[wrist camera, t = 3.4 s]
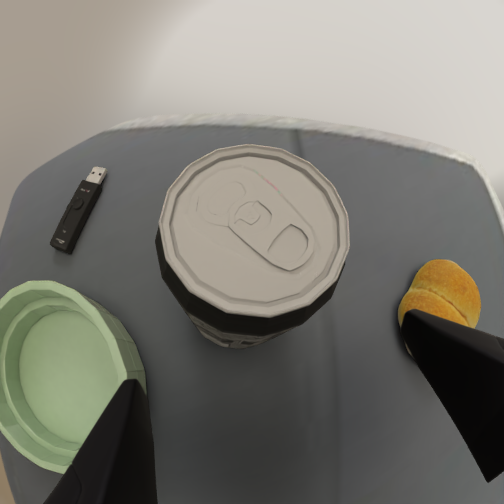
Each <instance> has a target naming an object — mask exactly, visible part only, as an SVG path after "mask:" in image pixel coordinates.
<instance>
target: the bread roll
mask: <svg viewBox="0 0 504 504" xmlns="http://www.w3.org/2000/svg"><path fill="white" fill-rule="evenodd" d="M411 309H418V310H421V311H424V312H427V313H430V314H433V315H436V316H439V317H441V318H444V319H447V320H450V321H453V322H456V323H459V324H462V325H465V326H468V327H471V328H473V329H474V328H475V326H476V324H477V321H478V319H479V314H480V309H481V301H480V295H479V291H478V288H477V286H476V284H475V282H474V281H473V279H472V278H471V277H470V276H469V274H468V273H466V272H465V271H464V270H463V269H462V268H460V267H459V266H458V265H457V264H456V263H454V262H452V261H450V260H441V259H435V260H432V261H429V262H428V263H426V264H425V265H424V266H423V267H422V268H420V269H419V271H418V272H417V274H416V275H415V278H414V280H413V282H412V285H411V286H410V288H409V290H408V292H407V293H406V294H405V296H404V297H403V299H402V301H401V303H400V305H399V308H398V321H399V324H400V328H401V325H402V321H403V317H404V314H405V312H407V311H409V310H411ZM405 345H406V343H405ZM406 348H407V350H408V352H409V354H410V355H411V356H412V354H411V352H410V350H409V349H408V347H407V345H406ZM412 357H413V356H412Z"/></svg>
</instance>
